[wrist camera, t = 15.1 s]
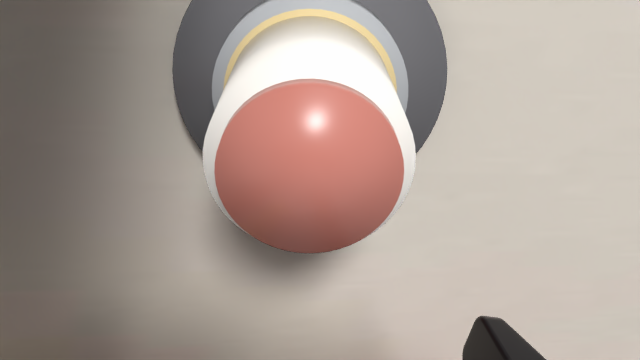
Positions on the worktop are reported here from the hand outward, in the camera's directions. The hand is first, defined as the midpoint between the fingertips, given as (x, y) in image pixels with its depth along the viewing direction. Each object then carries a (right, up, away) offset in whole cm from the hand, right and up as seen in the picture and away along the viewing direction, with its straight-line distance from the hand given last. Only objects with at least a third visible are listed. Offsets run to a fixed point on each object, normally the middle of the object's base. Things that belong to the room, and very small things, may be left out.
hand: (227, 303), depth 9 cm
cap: (+1, +5, +9) cm, 10 cm away
